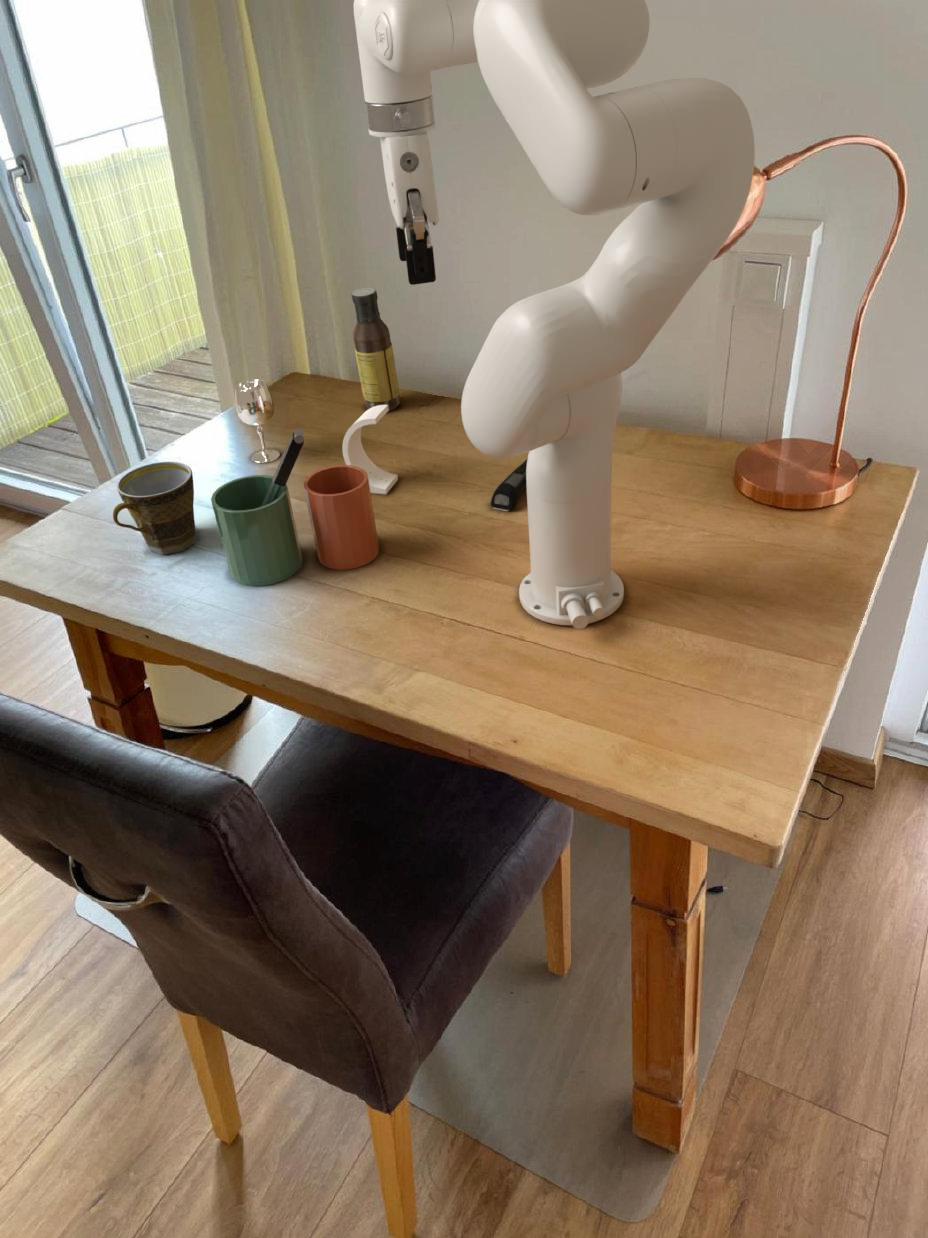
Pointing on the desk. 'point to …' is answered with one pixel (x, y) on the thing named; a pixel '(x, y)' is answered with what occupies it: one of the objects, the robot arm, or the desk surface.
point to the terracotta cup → (342, 516)
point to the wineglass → (256, 412)
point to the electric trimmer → (510, 489)
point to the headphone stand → (357, 456)
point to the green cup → (257, 531)
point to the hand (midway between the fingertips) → (417, 270)
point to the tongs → (285, 465)
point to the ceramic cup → (160, 505)
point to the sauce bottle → (374, 352)
